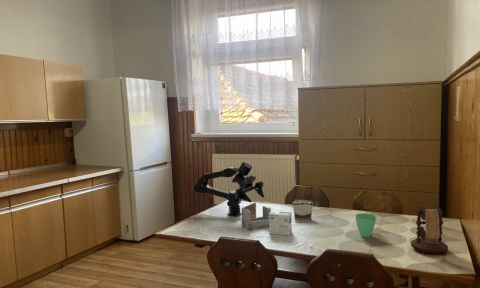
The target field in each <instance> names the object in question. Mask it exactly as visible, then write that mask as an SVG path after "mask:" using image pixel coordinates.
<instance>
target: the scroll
mask: <svg viewBox="0 0 480 288" xmlns="http://www.w3.org/2000/svg"><path fill="white" fill-rule="evenodd" d="M443 213H444V210H443V209H441V208H440V206H439V205H434V207H433V208H432V209H431V208H428V209H426V208H425V207H424V206H423V205H420V206H419V208H418V209H417V211H416V216H417V217H416V221H415V224H416V227H417V228H416V236H417V237H416V238H415V239H413V240H411V241H410V246H411V247H412V248H413V249H415V250H416V251H417V250H418V251H421V252H422V254H423V253H430V254H431V253H432V254H441V253H442V254H443V253H444V254H445V253H446V254H447V252H448V251H449V246H448V244H446V243H445V242H444V241H443V238H442V236H443V231H442V230H443V227H442V226H443V224H444V221H443ZM422 225H425V228H424V227H423V226H422Z"/></svg>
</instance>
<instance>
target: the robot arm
mask: <svg viewBox="0 0 480 288" xmlns="http://www.w3.org/2000/svg"><path fill="white" fill-rule="evenodd" d="M252 169H253V165H251V164H249V163H246V162H245V161H243V162H241V164H240V165H239V167H236V166H229V167H228V168H225V169H223V170H217V171H214V172H207V173H206V172H205V173H204V174H201V177H200V178H199V180H198V181H197V182H196V184H195V185H194V186H193V189H194V192H195V193H197V194H209V195H212V196H215V197H220V198H222V199H226V200H227V202H226V205H227V206H228V213H227V215H226V216H232V217H238V216H242V212H241V206H240V204H241V203H242V201H245V202H248V203H250V204H252V200H251V198H250V197H249V196H248V195H247V193H249V192H252V191H255V192H256V194H258V195H259V196H260V197H261V198H263V199H264V198H265V194H264V192H263V187H264V182H263V181H262V180H260V181H257V182H255V185H254V183H253V182H254V181H255V180H256V179H257V177H256V175H255V174H251V175H250V172H251V171H252ZM218 178H232V180H231V183H233V184H237V185H238V186H239V188H237V189H233V190H230V191H227V190H224V189H219V188H217V187H213V186H210V185H209V181H210V180H213V179H218Z"/></svg>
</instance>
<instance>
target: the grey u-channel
mask: <svg viewBox="0 0 480 288" xmlns="http://www.w3.org/2000/svg"><path fill="white" fill-rule="evenodd" d="M271 211H272V209H271V207H269V206H267V205H262V216H259V217H257V216H256V218H252V219H251V211H249V210H247V209H243V220H242V219H241V228H242V229H243V230H245V231H251V230H257V229H262V228H267V227H268V228H269V213H270V212H271Z"/></svg>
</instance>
